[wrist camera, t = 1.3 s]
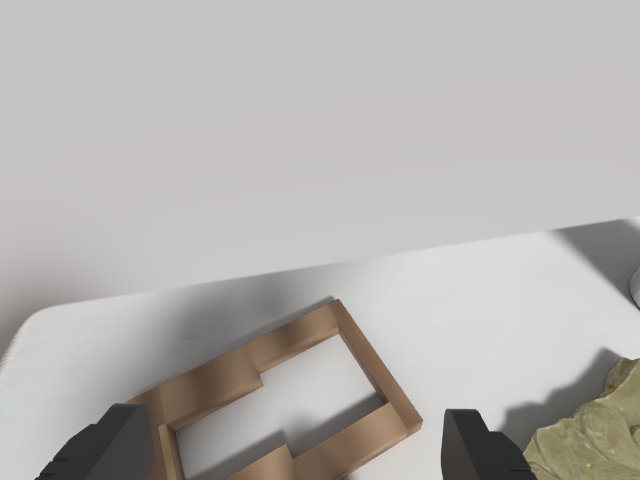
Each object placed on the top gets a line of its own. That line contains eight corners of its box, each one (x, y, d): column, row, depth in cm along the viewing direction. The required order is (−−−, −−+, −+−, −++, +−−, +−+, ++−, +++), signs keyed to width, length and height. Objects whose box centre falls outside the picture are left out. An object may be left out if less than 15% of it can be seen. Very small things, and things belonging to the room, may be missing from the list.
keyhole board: (339, 309, 41) (338, 297, 39) (420, 428, 32) (423, 419, 30) (135, 410, 35) (124, 401, 34) (161, 593, 26) (147, 591, 24)
